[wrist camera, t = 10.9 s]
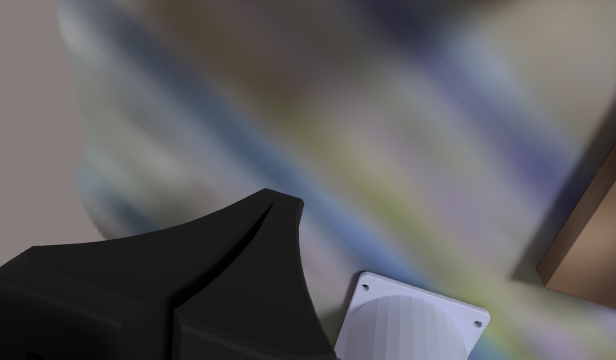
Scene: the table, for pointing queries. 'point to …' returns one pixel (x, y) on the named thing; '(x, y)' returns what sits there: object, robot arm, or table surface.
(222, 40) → the table surface
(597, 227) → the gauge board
